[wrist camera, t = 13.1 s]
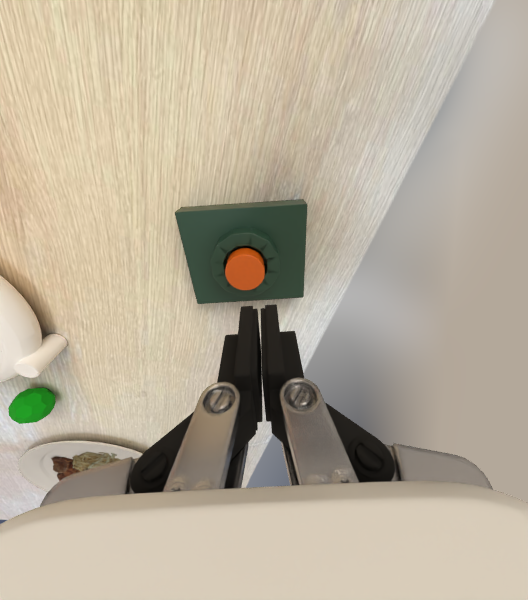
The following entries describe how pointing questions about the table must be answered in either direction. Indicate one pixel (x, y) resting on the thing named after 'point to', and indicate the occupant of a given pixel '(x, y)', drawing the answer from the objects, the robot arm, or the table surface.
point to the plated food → (67, 460)
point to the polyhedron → (32, 405)
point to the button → (245, 269)
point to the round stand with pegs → (23, 337)
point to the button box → (245, 234)
